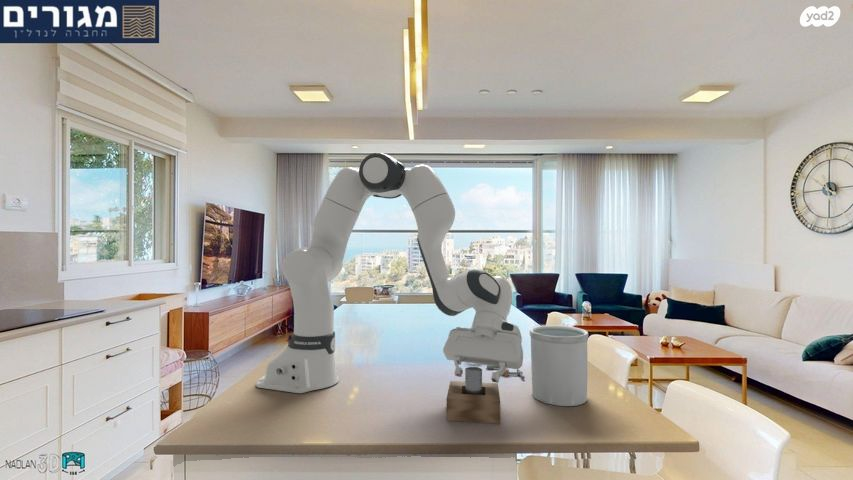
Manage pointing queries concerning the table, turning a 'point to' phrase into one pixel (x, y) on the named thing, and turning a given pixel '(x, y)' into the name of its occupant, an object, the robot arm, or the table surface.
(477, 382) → the peg
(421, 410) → the table surface
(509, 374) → the clamp
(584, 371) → the utensil holder
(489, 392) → the socket
